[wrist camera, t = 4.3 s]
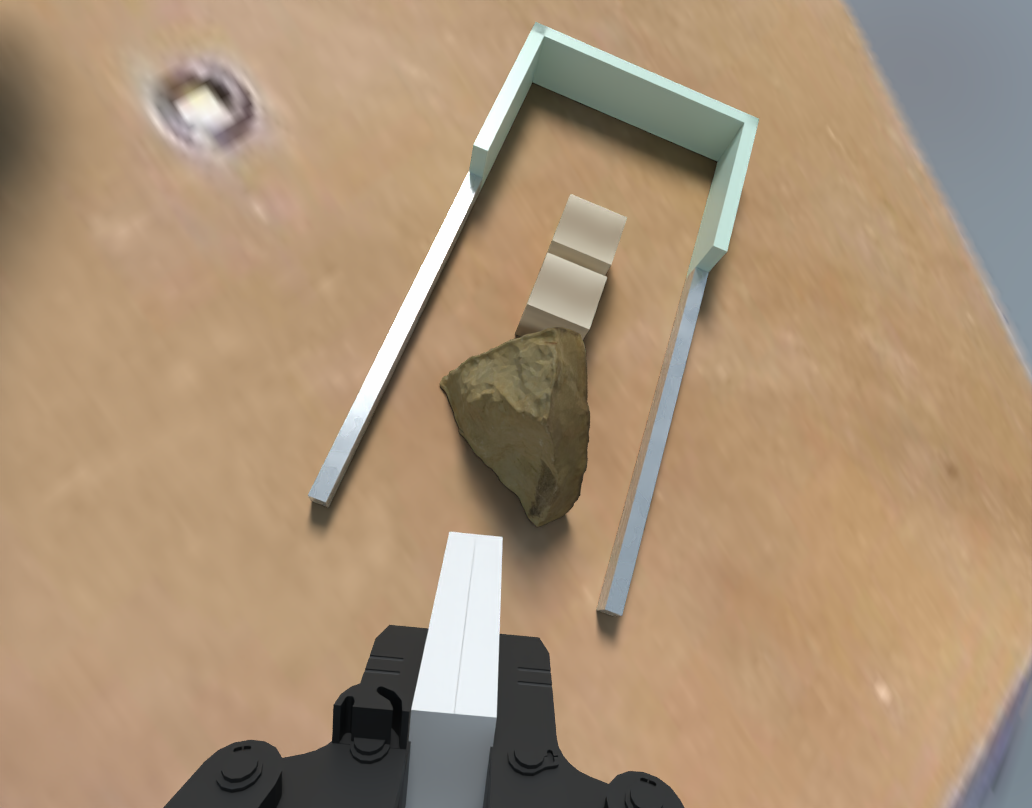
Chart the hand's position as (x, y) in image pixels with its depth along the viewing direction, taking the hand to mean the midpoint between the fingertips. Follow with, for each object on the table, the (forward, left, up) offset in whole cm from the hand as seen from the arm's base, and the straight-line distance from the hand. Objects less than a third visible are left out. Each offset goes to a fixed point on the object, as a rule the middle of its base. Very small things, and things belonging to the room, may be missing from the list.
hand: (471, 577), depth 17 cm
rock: (+9, +4, -17) cm, 19 cm away
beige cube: (+22, +10, -17) cm, 29 cm away
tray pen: (+30, +14, -17) cm, 37 cm away
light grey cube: (+17, +8, -17) cm, 25 cm away
